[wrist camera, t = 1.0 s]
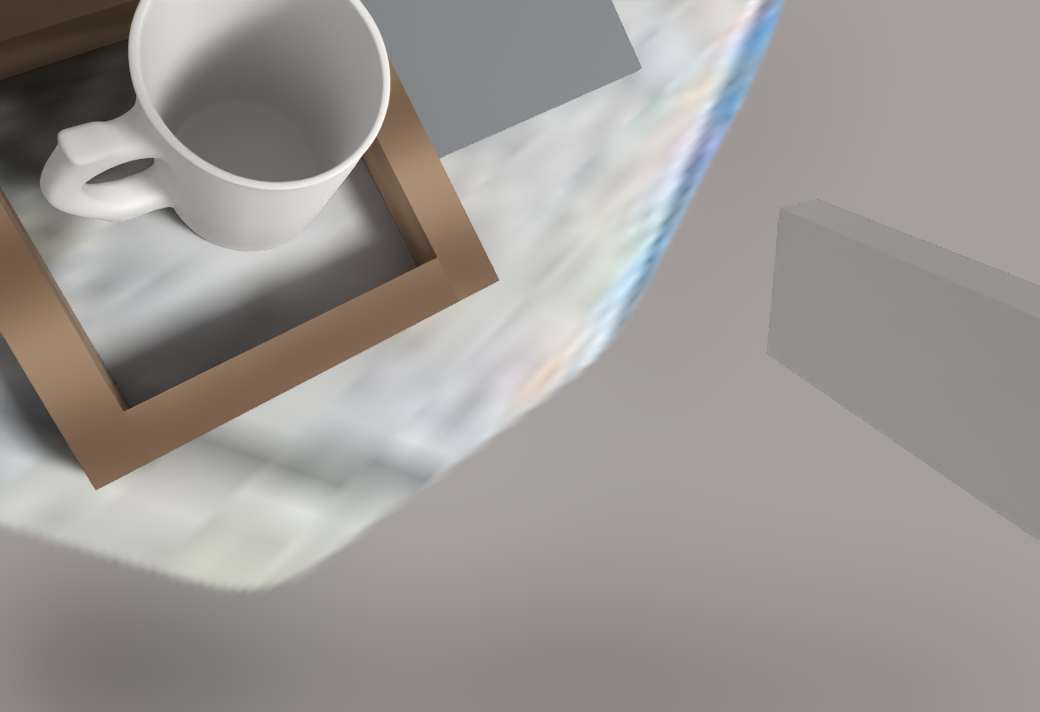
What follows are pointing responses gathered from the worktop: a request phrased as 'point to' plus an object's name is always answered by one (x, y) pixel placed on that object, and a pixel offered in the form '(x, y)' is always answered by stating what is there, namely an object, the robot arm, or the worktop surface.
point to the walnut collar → (261, 370)
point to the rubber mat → (498, 59)
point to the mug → (233, 118)
